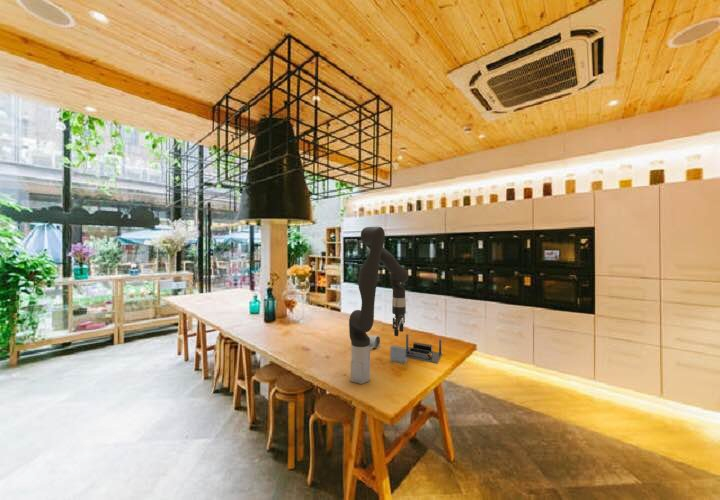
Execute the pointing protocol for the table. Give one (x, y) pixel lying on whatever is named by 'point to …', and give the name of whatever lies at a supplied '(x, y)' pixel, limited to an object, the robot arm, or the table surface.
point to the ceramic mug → (374, 341)
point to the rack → (423, 351)
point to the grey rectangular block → (398, 354)
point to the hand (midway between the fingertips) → (398, 333)
